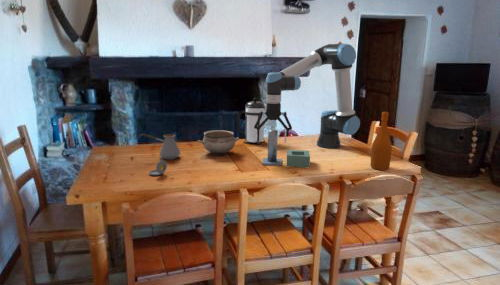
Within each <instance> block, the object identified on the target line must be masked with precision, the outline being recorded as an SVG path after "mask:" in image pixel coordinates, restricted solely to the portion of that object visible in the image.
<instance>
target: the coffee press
mask: <svg viewBox="0 0 500 285" xmlns="http://www.w3.org/2000/svg"><path fill="white" fill-rule="evenodd" d="M257 100H258V98H257V97H254V98H253V100H252V101H248V102H246V104H245V106H244V107H245V110H240V111H239V112H238V113H237V116H236V117H237V118H236V129H237V131H238V132H237V133H239V134H240V135H244V136H245V138H244V141H243V144H244V145H246V144H248V143H256V144H257V146H260V145H261V142H262V143H265V141H266V140H265V138H264V135H265V132H264V131H265V130H264V129H265V124H264V125H263V126H262V127H261V128H260V129H261V142H259V135H257V129H255V128H254V126H255V124H256V122H257V120H258V118H259V117H260V112H261V111H263V112H266V106H265V104H264V102H262V101H257ZM242 114H245V131H242V130H241V116H242ZM264 120H265V115H264V116H262V118H261V120H260V121H259V123H258V125H257V126H259V125H260V124H261V123H262V122H263V121H264Z"/></svg>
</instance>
